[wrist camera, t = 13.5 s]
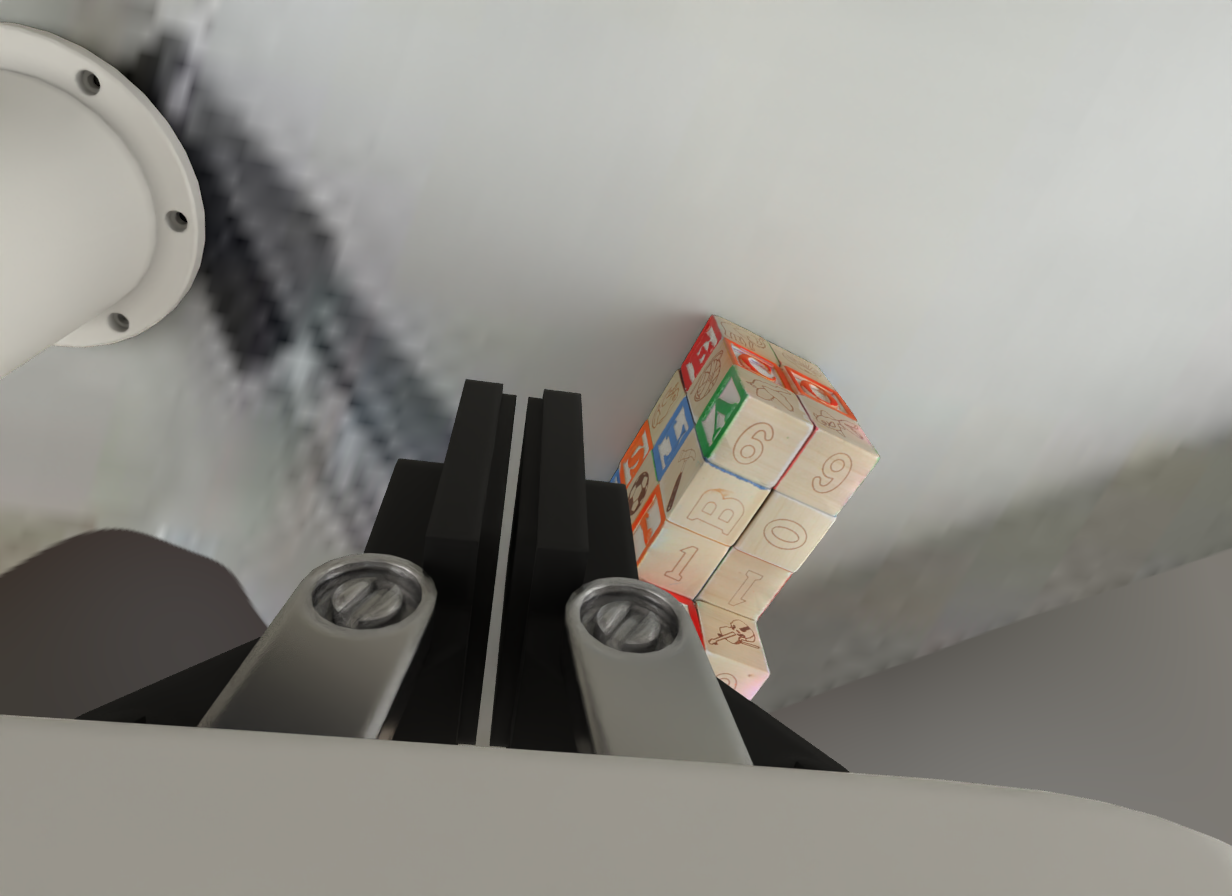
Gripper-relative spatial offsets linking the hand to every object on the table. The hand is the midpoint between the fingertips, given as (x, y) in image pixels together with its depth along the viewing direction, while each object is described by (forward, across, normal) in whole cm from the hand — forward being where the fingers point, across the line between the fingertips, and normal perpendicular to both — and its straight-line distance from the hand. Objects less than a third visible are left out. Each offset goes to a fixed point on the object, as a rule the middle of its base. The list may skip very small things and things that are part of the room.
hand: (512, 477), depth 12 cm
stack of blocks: (+25, -8, +16) cm, 31 cm away
